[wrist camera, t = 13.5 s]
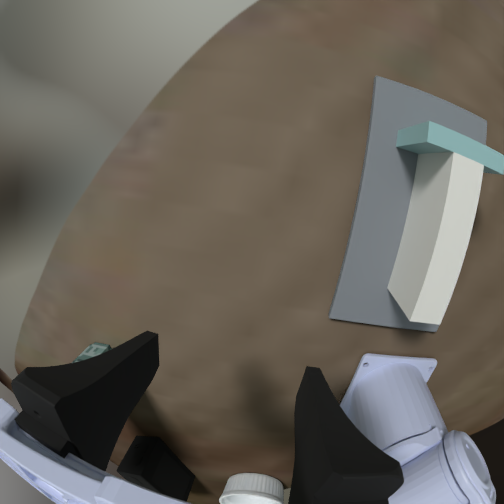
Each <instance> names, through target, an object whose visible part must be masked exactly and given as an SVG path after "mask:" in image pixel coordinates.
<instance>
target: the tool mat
mask: <svg viewBox="0 0 504 504" xmlns="http://www.w3.org/2000/svg"><path fill="white" fill-rule="evenodd" d="M427 121H431V122H434V123H436V124H439V125H441V126H444V127H446V128H449V129H451V130H453V131H456V132H458V133H460V134H462V135H465V136H467V137H469V138H471V139H473V140H475V141H477V142H479V143H481V144H483V145H485V146H486V132H487V121H486V120H484V119H482V118H481V117H479V116H477V115H475V114H473V113H471V112H469V111H467V110H465V109H463V108H461V107H458V106H456V105H454V104H452V103H450V102H448V101H445V100H443V99H441V98H438V97H436V96H433V95H431V94H428V93H426V92H423V91H421V90H418V89H415V88H413V87H410V86H407V85H404V84H401V83H398V82H395V81H392V80H389V79H386V78H383V77H379V76H376V77H375V78H374V87H373V97H372V106H371V115H370V123H369V130H368V138H367V145H366V151H365V157H364V164H363V169H362V175H361V181H360V186H359V192H358V197H357V202H356V207H355V212H354V216H353V221H352V226H351V230H350V234H349V239H348V243H347V247H346V251H345V255H344V260H343V263H342V267H341V271H340V275H339V279H338V283H337V286H336V290H335V293H334V297H333V301H332V304H331V307H330V311H329V318H332V319H339V320H345V321H352V322H359V323H366V324H373V325H381V326H388V327H396V328H404V329H413V330H422V331H431V332H436V331H437V329H438V327H439V325H438V324H429V323H421V322H413V321H409V319H408V318H407V316H406V315H405V313H404V312H403V310H402V309H401V307H400V306H399V304H398V303H397V301H396V300H395V299H394V297H393V296H392V294H391V293H390V291H389V290H388V289H387V287H388V284H389V281H390V278H391V274H392V271H393V268H394V264H395V261H396V257H397V254H398V250H399V246H400V242H401V239H402V235H403V231H404V226H405V222H406V218H407V213H408V209H409V204H410V199H411V194H412V189H413V184H414V178H415V172H416V166H417V160H418V154H417V153H414V152H411V151H408V150H405V149H401V148H398V147H396V143H397V135H398V130H401V129H404V128H407V127H411V126H414V125H417V124H420V123H424V122H427Z"/></svg>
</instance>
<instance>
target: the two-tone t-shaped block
mask: <svg viewBox="0 0 504 504" xmlns="http://www.w3.org/2000/svg"><path fill="white" fill-rule="evenodd" d="M396 147H398V148H401V149H405V150H408V151H411V152H414V153H417V154H418V160H417V166H416V172H415V178H414V184H413V189H412V194H411V199H410V204H409V209H408V213H407V218H406V222H405V226H404V231H403V235H402V239H401V242H400V246H399V250H398V254H397V257H396V261H395V264H394V268H393V271H392V274H391V278H390V281H389V284H388V287H387V289H388V290H389V291H390V293H391V294H392V296H393V297H394V299H395V300H396V301H397V303H398V304H399V306H400V307H401V309H402V310H403V312H404V313H405V315H406V316H407V318H408V319H409V321H413V322H421V323H429V324H438V325H440V323H441V321H442V319H443V316H444V314H445V311H446V309H447V306H448V304H449V301H450V299H451V296H452V293H453V291H454V288H455V285H456V282H457V279H458V276H459V273H460V270H461V267H462V264H463V261H464V257H465V254H466V250H467V247H468V243H469V240H470V236H471V232H472V228H473V224H474V219H475V215H476V210H477V205H478V200H479V194H480V189H481V183H482V176H483V172H484V173H493V174H501V175H503V171H504V155H502V154H501V153H499V152H497V151H495V150H493V149H491V148H489V147H487V146H485V145H483V144H481V143H479V142H477V141H475V140H473V139H471V138H469V137H467V136H465V135H462V134H460V133H458V132H456V131H453V130H451V129H449V128H446V127H444V126H441V125H439V124H436V123H434V122H431V121H427V122H424V123H420V124H417V125H414V126H411V127H407V128H404V129H401V130H398V135H397V143H396Z"/></svg>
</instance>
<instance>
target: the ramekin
mask: <svg viewBox="0 0 504 504" xmlns="http://www.w3.org/2000/svg"><path fill="white" fill-rule="evenodd" d="M283 495H284V491H283V485H282V483H281V482H280V481H279V480H278V479H276V478H274V477H271V476H268V475H264V474H259V473H240V474H236V475H233V476H231V477H230V478H229V479H228V481H227V484H226V487H225V489H224V492H223V494H222V495H221V497H220V499H219V502H220V503H221V504H284V502H283Z"/></svg>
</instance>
